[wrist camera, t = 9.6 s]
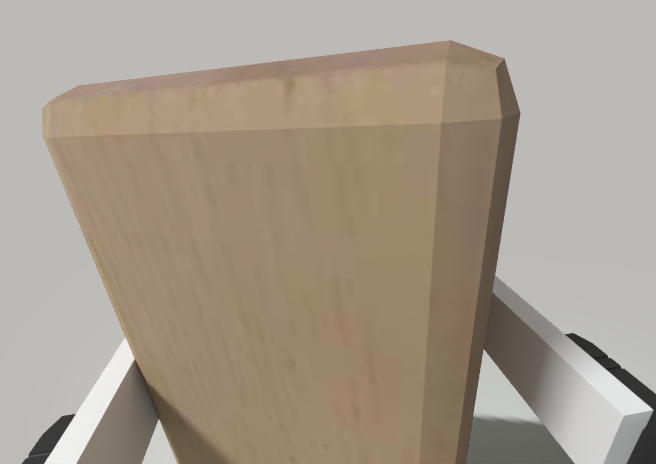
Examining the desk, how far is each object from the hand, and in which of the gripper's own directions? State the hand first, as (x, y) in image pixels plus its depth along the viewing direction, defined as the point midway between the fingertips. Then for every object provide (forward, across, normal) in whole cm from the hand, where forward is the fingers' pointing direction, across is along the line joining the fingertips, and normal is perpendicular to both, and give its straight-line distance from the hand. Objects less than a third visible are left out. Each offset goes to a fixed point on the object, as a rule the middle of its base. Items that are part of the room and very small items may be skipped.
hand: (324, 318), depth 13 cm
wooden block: (0, 0, -11) cm, 11 cm away
